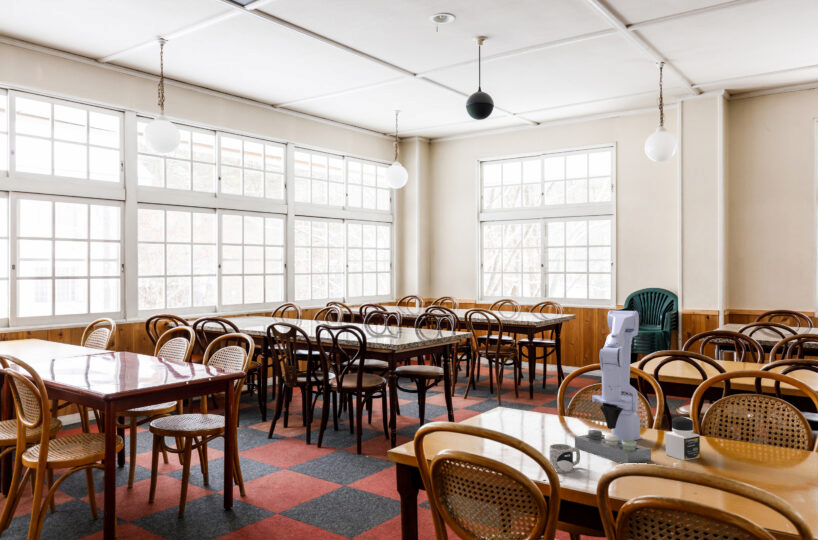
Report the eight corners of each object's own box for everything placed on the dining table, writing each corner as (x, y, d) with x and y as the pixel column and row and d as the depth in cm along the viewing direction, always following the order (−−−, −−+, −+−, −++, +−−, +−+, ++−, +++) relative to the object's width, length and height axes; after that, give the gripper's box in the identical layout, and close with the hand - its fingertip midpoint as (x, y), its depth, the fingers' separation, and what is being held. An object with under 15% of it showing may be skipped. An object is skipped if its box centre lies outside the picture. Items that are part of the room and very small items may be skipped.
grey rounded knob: (594, 441, 209) (594, 429, 209) (604, 444, 205) (604, 432, 205) (585, 443, 207) (585, 431, 207) (595, 446, 203) (595, 433, 203)
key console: (597, 443, 212) (597, 432, 212) (651, 460, 193) (650, 449, 193) (574, 447, 207) (574, 436, 207) (628, 465, 188) (627, 453, 188)
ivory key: (611, 446, 203) (611, 434, 203) (621, 449, 199) (621, 437, 199) (601, 448, 201) (601, 435, 201) (611, 451, 197) (611, 438, 197)
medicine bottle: (684, 461, 192) (684, 421, 192) (665, 455, 198) (665, 416, 198) (700, 457, 195) (700, 419, 195) (680, 451, 202) (680, 414, 202)
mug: (558, 474, 180) (558, 451, 180) (545, 468, 186) (544, 445, 186) (587, 470, 184) (587, 447, 184) (572, 463, 190) (572, 441, 190)
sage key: (628, 451, 197) (628, 439, 197) (639, 455, 193) (639, 442, 193) (618, 453, 195) (618, 440, 195) (629, 457, 191) (629, 444, 191)
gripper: (585, 382, 204) (585, 424, 204) (620, 390, 192) (620, 435, 192) (600, 380, 208) (601, 422, 208) (636, 388, 195) (636, 432, 195)
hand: (611, 428), depth 200 cm, fingers closed
